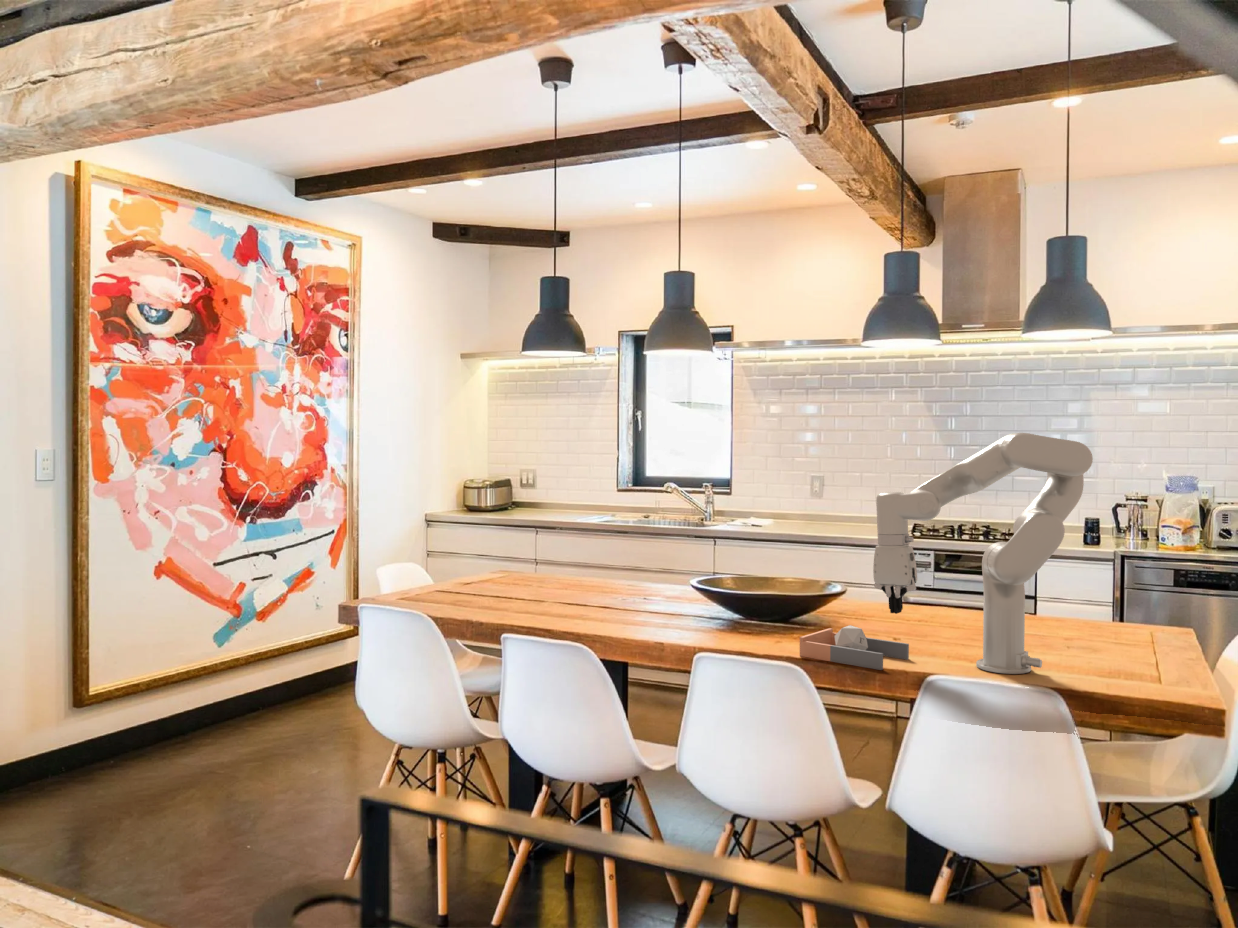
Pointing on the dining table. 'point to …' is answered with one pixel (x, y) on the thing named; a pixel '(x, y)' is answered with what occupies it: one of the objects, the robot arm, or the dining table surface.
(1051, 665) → the dining table surface
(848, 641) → the die
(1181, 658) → the dining table surface
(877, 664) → the two-tone shallow tray
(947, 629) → the dining table surface
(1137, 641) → the dining table surface
